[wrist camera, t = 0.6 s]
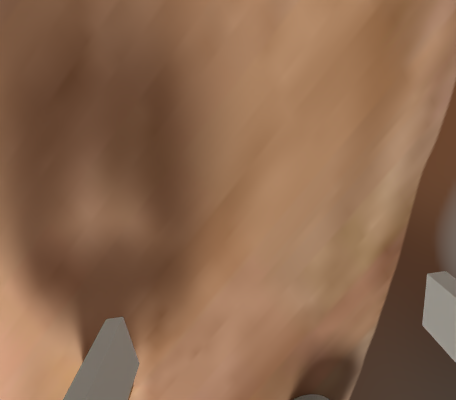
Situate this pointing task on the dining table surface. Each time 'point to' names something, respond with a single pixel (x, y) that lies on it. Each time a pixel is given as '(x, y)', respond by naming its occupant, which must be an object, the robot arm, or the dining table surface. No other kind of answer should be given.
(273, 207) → the dining table surface
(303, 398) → the cup
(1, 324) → the dining table surface
